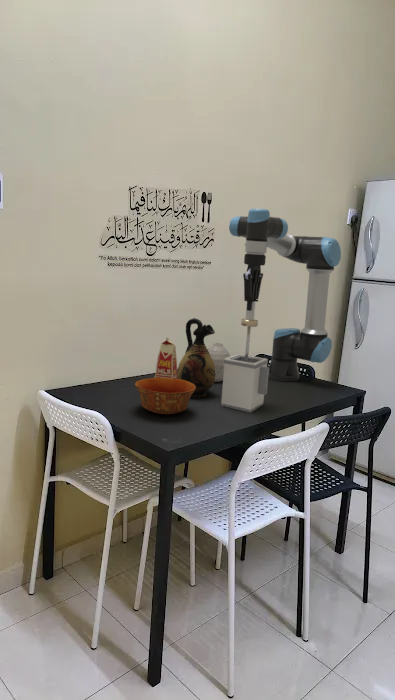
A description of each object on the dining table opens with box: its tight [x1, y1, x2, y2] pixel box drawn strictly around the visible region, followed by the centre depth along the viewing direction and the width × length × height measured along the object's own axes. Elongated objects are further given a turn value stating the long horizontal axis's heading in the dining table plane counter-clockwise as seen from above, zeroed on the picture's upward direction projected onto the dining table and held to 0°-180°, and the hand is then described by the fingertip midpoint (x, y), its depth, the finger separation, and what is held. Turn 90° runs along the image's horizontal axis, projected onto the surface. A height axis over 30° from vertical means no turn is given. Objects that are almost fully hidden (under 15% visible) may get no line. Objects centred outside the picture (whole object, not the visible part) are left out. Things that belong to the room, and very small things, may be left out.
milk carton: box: [153, 337, 178, 379], centre depth 218 cm, size 9×9×20 cm
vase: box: [207, 341, 231, 383], centre depth 228 cm, size 13×13×17 cm
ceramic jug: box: [177, 317, 216, 398], centre depth 204 cm, size 17×15×30 cm
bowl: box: [134, 377, 196, 415], centre depth 182 cm, size 21×21×10 cm
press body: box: [220, 353, 269, 413], centre depth 193 cm, size 12×15×18 cm
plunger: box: [240, 318, 259, 362], centre depth 191 cm, size 9×9×22 cm
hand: (249, 319), depth 189 cm, fingers closed
